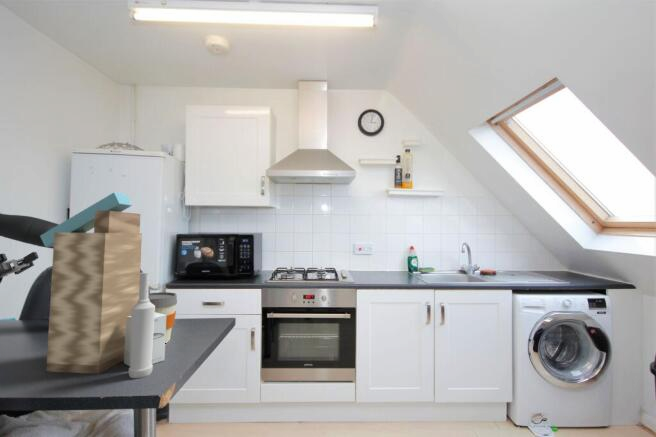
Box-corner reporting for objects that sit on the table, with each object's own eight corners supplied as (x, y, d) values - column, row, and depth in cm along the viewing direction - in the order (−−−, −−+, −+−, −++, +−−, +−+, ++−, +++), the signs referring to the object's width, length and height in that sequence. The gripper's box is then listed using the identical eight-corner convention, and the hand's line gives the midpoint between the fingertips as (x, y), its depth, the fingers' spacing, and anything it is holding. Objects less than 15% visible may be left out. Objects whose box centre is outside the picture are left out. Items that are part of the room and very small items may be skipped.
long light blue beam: (39, 246, 87) (42, 192, 88) (56, 246, 92) (59, 194, 93) (117, 248, 85) (119, 192, 86) (130, 247, 90) (132, 194, 91)
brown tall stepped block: (46, 371, 80) (55, 210, 82) (91, 351, 94) (98, 214, 96) (98, 373, 79) (106, 210, 81) (136, 353, 93) (142, 214, 95)
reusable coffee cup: (182, 342, 102) (183, 295, 103) (138, 353, 93) (140, 301, 94) (167, 334, 111) (168, 290, 112) (125, 342, 102) (127, 295, 102)
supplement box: (137, 370, 81) (139, 320, 82) (123, 363, 85) (125, 316, 86) (165, 360, 87) (167, 314, 88) (150, 355, 91) (152, 310, 92)
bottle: (135, 370, 81) (139, 271, 83) (156, 369, 82) (160, 271, 83) (123, 379, 76) (128, 274, 78) (146, 378, 77) (150, 274, 78)
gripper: (-64, 274, 84) (-13, 244, 83) (-3, 269, 98) (40, 243, 97) (-53, 300, 83) (-2, 269, 82) (6, 290, 97) (50, 264, 97)
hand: (21, 255), depth 90 cm, fingers open, 8 cm apart
